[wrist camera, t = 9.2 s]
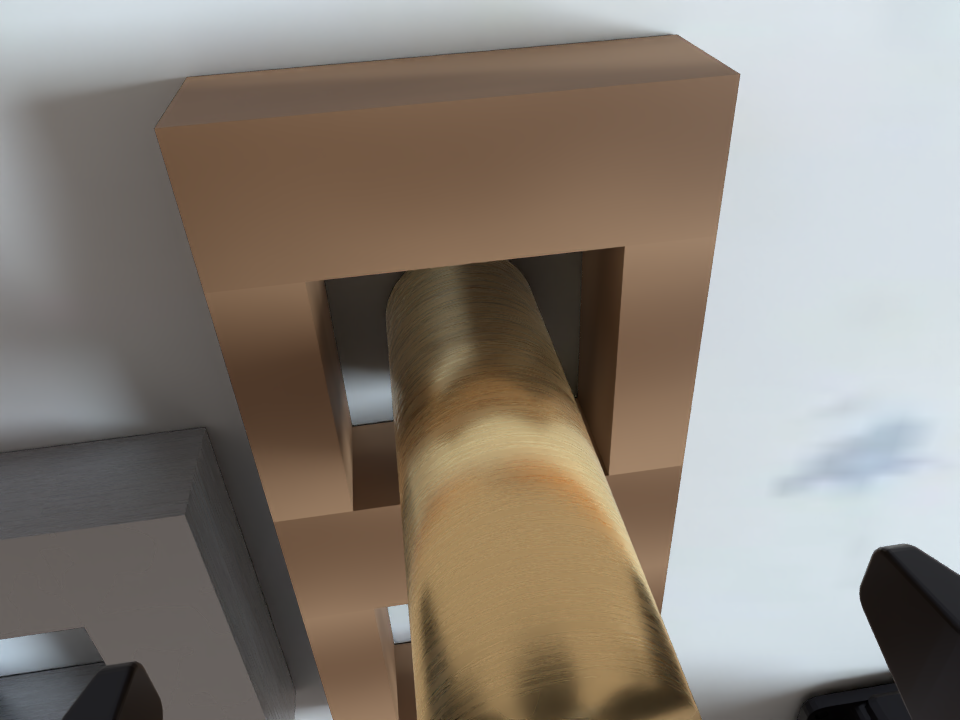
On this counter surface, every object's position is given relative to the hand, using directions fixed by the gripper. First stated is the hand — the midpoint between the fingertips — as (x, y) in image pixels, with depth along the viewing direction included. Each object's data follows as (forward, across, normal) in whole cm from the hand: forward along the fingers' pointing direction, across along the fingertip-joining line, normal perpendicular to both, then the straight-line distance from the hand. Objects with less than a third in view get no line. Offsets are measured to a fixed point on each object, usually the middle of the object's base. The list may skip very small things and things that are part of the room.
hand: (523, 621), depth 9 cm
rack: (+7, 0, +4) cm, 8 cm away
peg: (+7, 0, 0) cm, 7 cm away
